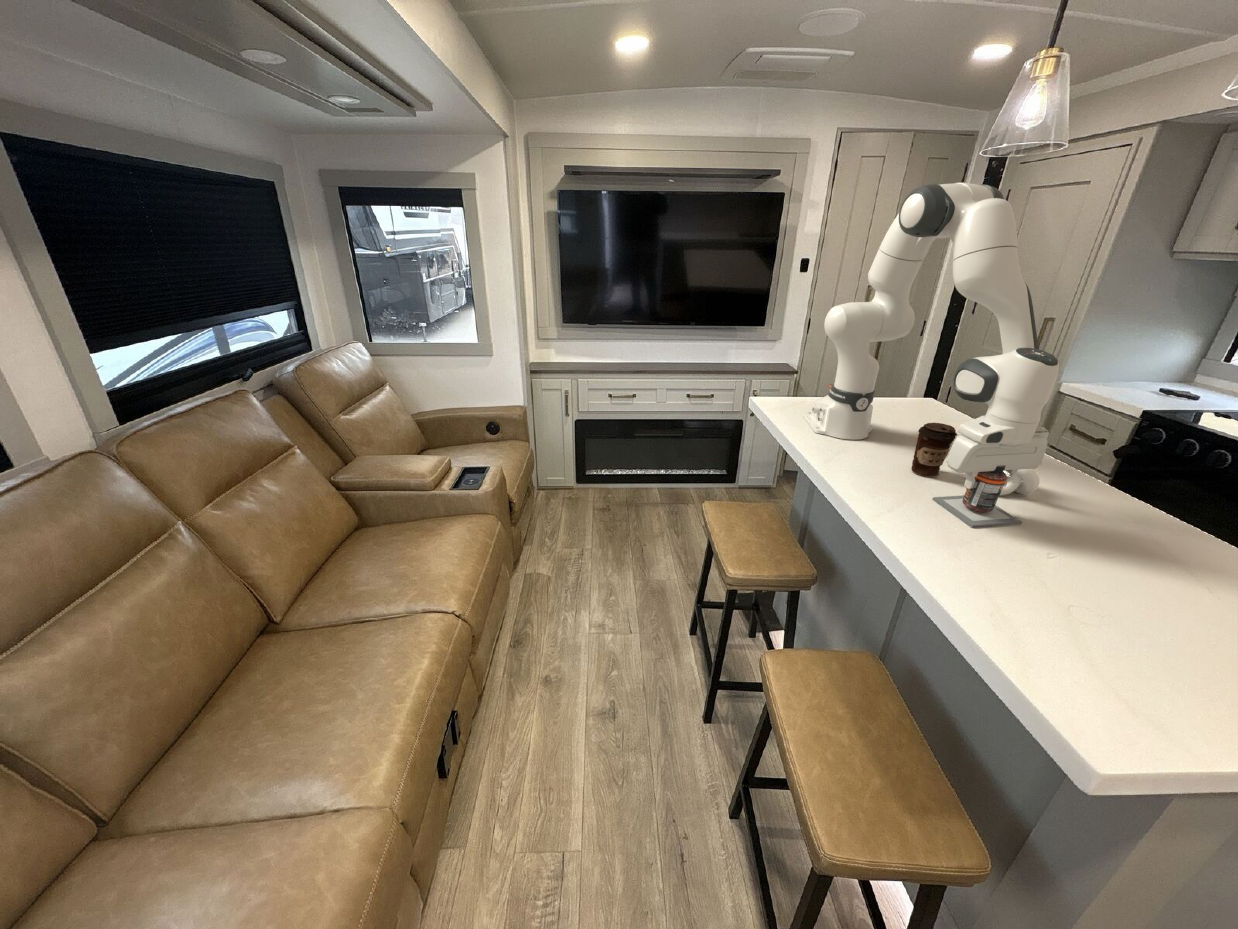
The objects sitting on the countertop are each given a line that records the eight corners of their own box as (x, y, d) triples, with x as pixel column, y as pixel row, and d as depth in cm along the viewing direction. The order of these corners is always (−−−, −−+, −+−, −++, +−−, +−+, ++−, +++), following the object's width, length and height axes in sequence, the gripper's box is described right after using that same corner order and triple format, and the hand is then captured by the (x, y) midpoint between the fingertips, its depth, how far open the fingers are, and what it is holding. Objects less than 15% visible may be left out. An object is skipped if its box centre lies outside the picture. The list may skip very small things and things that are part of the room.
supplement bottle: (959, 497, 113) (977, 453, 108) (990, 503, 111) (1009, 459, 106) (962, 509, 108) (980, 464, 103) (994, 516, 106) (1014, 470, 101)
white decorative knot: (969, 473, 127) (981, 442, 123) (1025, 484, 122) (1039, 452, 118) (973, 492, 118) (986, 459, 114) (1034, 505, 113) (1050, 471, 109)
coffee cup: (948, 482, 123) (965, 434, 117) (913, 478, 124) (928, 431, 118) (935, 467, 130) (951, 421, 125) (902, 463, 132) (916, 419, 126)
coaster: (932, 499, 115) (933, 497, 114) (977, 496, 116) (978, 494, 116) (971, 527, 104) (972, 525, 104) (1021, 524, 106) (1022, 521, 105)
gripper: (1037, 421, 105) (1013, 477, 111) (952, 425, 103) (933, 482, 109) (1065, 432, 100) (1038, 490, 106) (976, 436, 97) (954, 496, 103)
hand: (984, 486), depth 107 cm, fingers closed on supplement bottle, 6 cm apart
